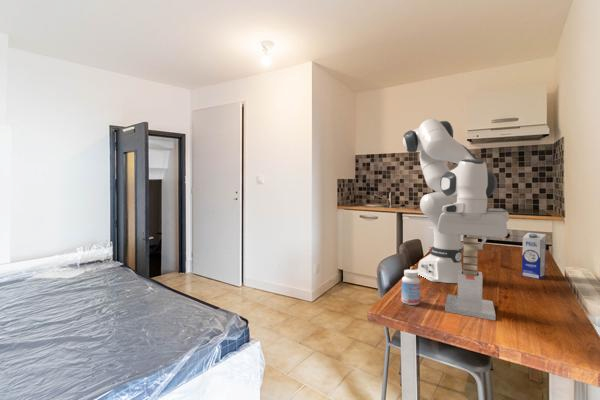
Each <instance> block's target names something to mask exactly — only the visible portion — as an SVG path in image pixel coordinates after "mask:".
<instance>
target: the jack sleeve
mask: <svg viewBox="0 0 600 400" xmlns="http://www.w3.org/2000/svg"><path fill="white" fill-rule="evenodd" d="M444 312H446V313H451V314H457V315H463V316H468V317H473V318H479V319H485V320H489V321H496V311H495V307H494V301H493V300H489V299H483V272H482V271H477V276H474V275H466V274H463V269H462V270H458V283H457V294H456V295H455V294H449V293H448V294H447V296H446V301H445V305H444Z"/></svg>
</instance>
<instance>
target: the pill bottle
mask: <svg viewBox="0 0 600 400" xmlns="http://www.w3.org/2000/svg"><path fill="white" fill-rule="evenodd" d="M403 275H404V276H403V277H401V278H402V279H401V296H400V297H401V302H402V303H404V304H405V305H407V306H408V305H409V306H418V305H419V304H420V302H421V301H420V300H421V297H420V296H421V295H420V293H421V292H420V291H421V281H420V278H418V277H419V275H418V272H417V271H415V269H404V270H403Z"/></svg>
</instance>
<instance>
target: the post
mask: <svg viewBox="0 0 600 400" xmlns="http://www.w3.org/2000/svg"><path fill="white" fill-rule="evenodd" d="M463 242H464V248H463V252H462V259H463V260H462V262H463V263H462V265H463V266H462V270H463V274H466V275H474V276H477V272H478V259H479V258H478V257H479V256H478V251H479V250H478V244H479V241H478V237H476V236H472V237H471V236H464V237H463Z"/></svg>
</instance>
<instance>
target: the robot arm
mask: <svg viewBox="0 0 600 400" xmlns="http://www.w3.org/2000/svg"><path fill="white" fill-rule="evenodd" d="M402 144H403V145H402V146H403V147H404V149H405V150H406V152H408V153H417V152H419V155H418V157H419V163H420V167H421V172H422V174H423V177H424V180H425V181H424V182H425V183H426V185H427V187H428V188H430V189H431V190H433V191H434V192H430V193H427V194H424V195H422V197H421V199H420V201H419V208H420V211H421V213H422V214H423V215H424V216H426V217H427V218H428V220H429V222H430V223H431V227H432V232H433V246H431V247H429V248H428V251H430V252H429V253H430V254H428V255H426V256H425V257H423V258H422V259H419V261H418V265H417V266H418V267H417V268H416V269H414V270H415V271H417V272H418V276H419V275H420V276H419V277H421V276H422V278H423V277H424V278H423V279H425V278H426V280H428V281H430V282H436V283H437V282H438V283H445V284H446V283H447V284H458V270H463V266H462V265H463V264H462V259H463V249H464V241H462V236H472V237H481V242H480V243H478V251H479V250H480V251H483V249H484V248H483V247H484V246H483V245H484V244H486V241H487V240H488V237H489V238H502V239H503V238H506V237H507V236H508V224H507V223H508V221H509V220H510V214H509V212H508V211H507V210H506V209H504V208H502V207H501V208H492V207H488V198H489V197H490V196H492V195H493V194H494V193H495V191H496V190H497V188H498V180H497V177H496V175H495V174H494V173H493V172H492V171H491V170H489V169H488V167H487V164H486V162H485V161H484V160H481V159H478V158H477V157H476V156H475V155H474V154H473V152H472V151H470V150H469V148H467V147H466V146H465V145H463V144H462V143H460V142H458V141H457V140H456V139H454V128H453V126H452V125H451V123H450V122H449V121H448V120H441V121H439V120H437V119H435V118H430V119H426V120H424V121H422V122H421V124H420V125H419V127H417V128H415V129H412V130H408V131H406V132H405V133H404V134H403V136H402ZM447 162H450V163H454V164H456V165H457V166H455V168H453V169H452V170H450V169H449V166H448V163H447Z"/></svg>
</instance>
